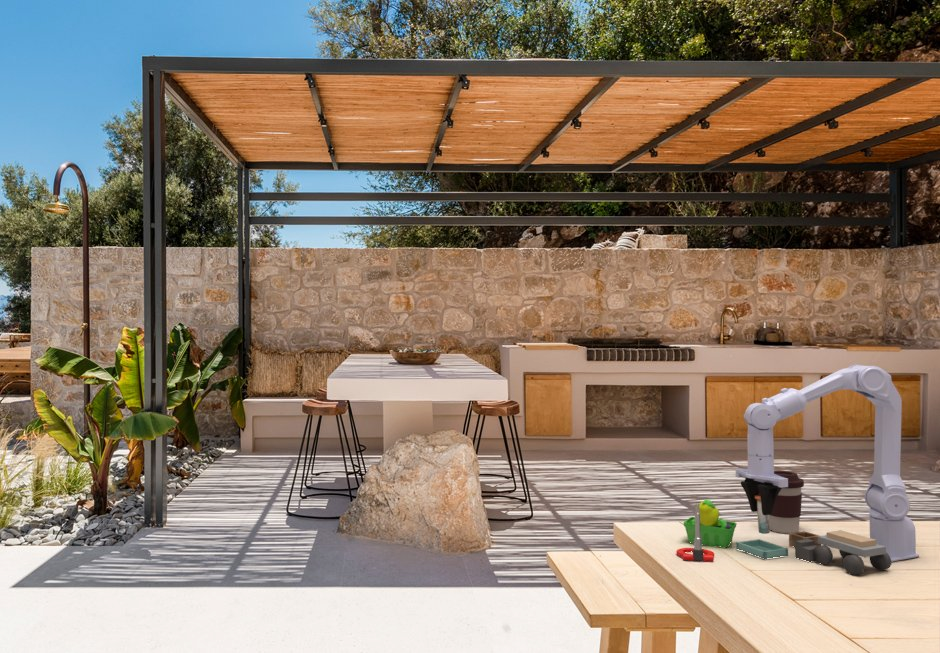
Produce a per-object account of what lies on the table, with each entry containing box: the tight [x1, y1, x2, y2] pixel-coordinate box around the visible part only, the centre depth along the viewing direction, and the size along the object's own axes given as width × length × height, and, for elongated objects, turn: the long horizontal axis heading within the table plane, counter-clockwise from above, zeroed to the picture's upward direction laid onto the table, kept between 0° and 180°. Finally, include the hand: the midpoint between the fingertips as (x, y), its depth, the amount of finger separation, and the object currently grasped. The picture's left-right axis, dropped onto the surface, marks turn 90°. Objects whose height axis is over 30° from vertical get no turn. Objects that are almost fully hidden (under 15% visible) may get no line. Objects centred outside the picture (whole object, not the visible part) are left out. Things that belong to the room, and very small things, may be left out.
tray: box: [735, 538, 789, 559], centre depth 176 cm, size 7×9×2 cm
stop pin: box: [754, 493, 771, 535], centre depth 177 cm, size 3×3×9 cm
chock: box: [794, 539, 816, 563], centre depth 171 cm, size 4×4×4 cm
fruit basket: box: [682, 499, 738, 548], centre depth 185 cm, size 11×9×11 cm
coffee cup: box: [768, 470, 805, 534], centre depth 197 cm, size 10×10×15 cm
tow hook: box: [675, 503, 715, 562], centre depth 175 cm, size 8×13×9 cm
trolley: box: [813, 529, 892, 576], centre depth 166 cm, size 12×10×7 cm
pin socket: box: [788, 530, 822, 548], centre depth 181 cm, size 5×5×3 cm
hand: (761, 513), depth 177 cm, fingers closed on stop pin, 3 cm apart
